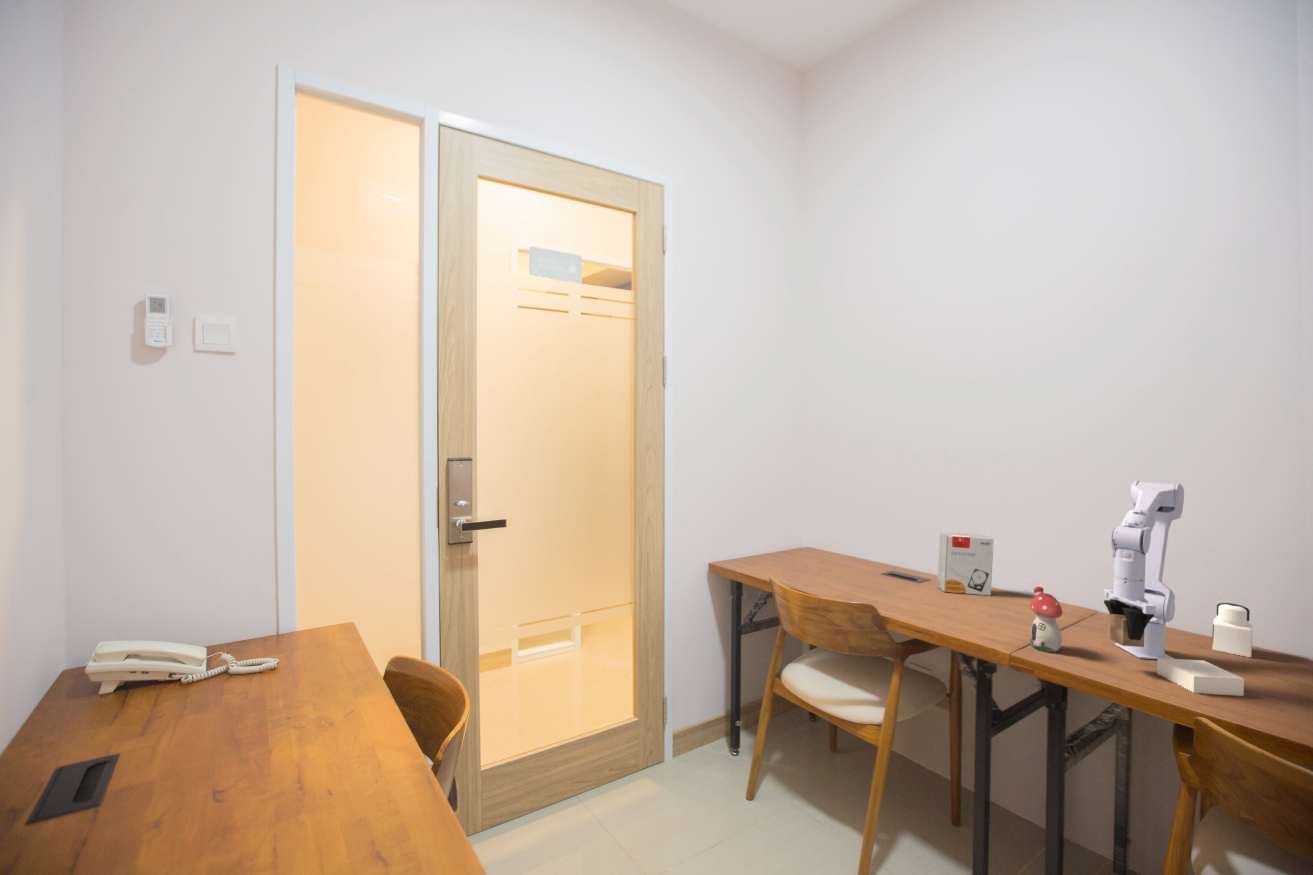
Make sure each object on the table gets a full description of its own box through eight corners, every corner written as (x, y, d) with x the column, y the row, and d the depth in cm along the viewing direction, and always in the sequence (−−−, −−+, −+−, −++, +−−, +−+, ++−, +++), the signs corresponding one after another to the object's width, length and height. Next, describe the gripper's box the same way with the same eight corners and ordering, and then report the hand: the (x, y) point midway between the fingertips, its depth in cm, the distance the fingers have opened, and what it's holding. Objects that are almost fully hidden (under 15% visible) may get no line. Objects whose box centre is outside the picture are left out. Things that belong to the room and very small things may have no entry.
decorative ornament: (1026, 639, 155) (1027, 584, 155) (1055, 643, 153) (1056, 586, 153) (1034, 651, 147) (1036, 592, 146) (1065, 655, 144) (1067, 595, 144)
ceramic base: (1157, 675, 134) (1157, 658, 134) (1203, 677, 134) (1203, 660, 134) (1193, 694, 124) (1194, 676, 124) (1243, 697, 124) (1244, 678, 124)
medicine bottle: (1213, 643, 156) (1214, 599, 156) (1251, 651, 151) (1252, 605, 150) (1212, 650, 151) (1213, 604, 151) (1251, 658, 146) (1252, 610, 145)
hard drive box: (943, 592, 201) (945, 535, 200) (936, 587, 208) (938, 531, 208) (992, 595, 198) (994, 537, 198) (983, 590, 206) (985, 534, 205)
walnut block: (1110, 638, 139) (1110, 613, 139) (1130, 639, 138) (1131, 614, 138) (1122, 645, 134) (1123, 619, 134) (1143, 646, 134) (1144, 621, 134)
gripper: (1091, 569, 144) (1089, 624, 144) (1131, 585, 129) (1130, 645, 130) (1122, 571, 143) (1120, 625, 143) (1166, 586, 129) (1164, 647, 129)
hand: (1127, 635), depth 136 cm, fingers closed on walnut block, 4 cm apart
